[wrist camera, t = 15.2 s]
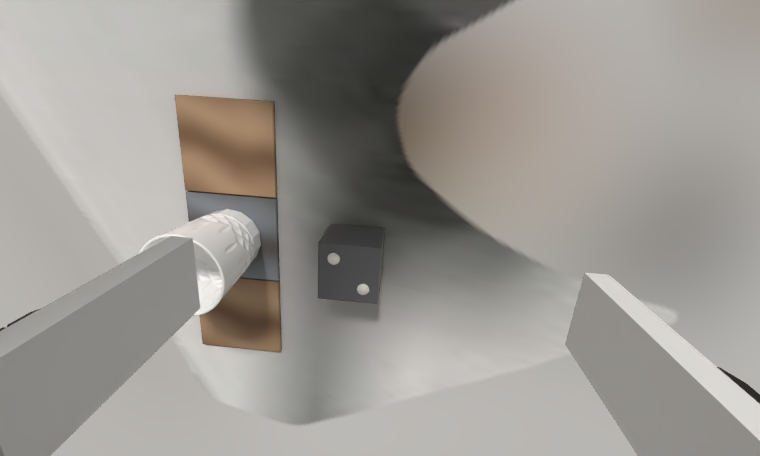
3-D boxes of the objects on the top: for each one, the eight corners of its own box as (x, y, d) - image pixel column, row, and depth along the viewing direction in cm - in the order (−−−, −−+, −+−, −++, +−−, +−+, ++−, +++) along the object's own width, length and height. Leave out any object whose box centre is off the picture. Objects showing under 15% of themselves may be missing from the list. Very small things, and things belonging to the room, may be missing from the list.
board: (177, 94, 37) (174, 94, 36) (274, 101, 36) (272, 101, 36) (204, 341, 47) (202, 343, 46) (281, 349, 46) (280, 351, 46)
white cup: (186, 241, 42) (121, 282, 32) (219, 189, 39) (159, 216, 30) (244, 281, 43) (197, 331, 33) (279, 232, 40) (240, 272, 31)
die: (330, 223, 40) (317, 243, 35) (385, 227, 40) (381, 248, 34) (329, 272, 42) (316, 298, 37) (381, 276, 42) (377, 304, 36)
